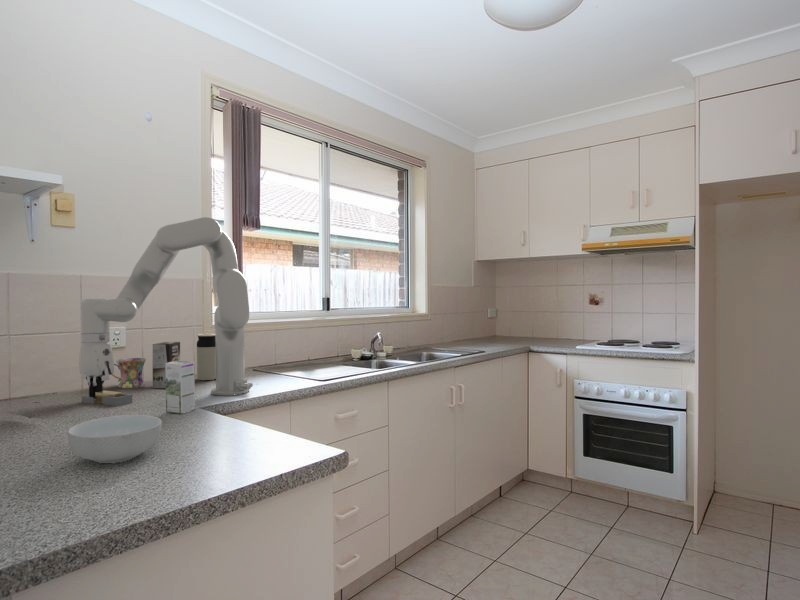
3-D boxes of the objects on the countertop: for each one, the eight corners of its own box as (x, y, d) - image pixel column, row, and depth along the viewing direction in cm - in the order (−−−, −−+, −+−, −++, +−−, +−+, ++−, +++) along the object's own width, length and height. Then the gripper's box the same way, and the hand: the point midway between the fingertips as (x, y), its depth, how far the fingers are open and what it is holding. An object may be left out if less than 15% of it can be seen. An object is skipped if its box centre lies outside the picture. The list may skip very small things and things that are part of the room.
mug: (147, 385, 182) (147, 357, 182) (144, 390, 173) (144, 360, 173) (111, 388, 178) (110, 358, 178) (105, 392, 169) (105, 362, 169)
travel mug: (198, 381, 191) (198, 335, 190) (195, 378, 197) (195, 334, 197) (219, 379, 195) (219, 334, 194) (216, 376, 201) (216, 333, 201)
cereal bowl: (59, 477, 92) (58, 439, 91) (77, 451, 107) (76, 418, 107) (160, 464, 98) (159, 429, 98) (163, 441, 114) (163, 411, 113)
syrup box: (195, 409, 144) (195, 360, 144) (180, 414, 139) (180, 363, 139) (180, 408, 146) (180, 359, 146) (164, 412, 141) (164, 362, 141)
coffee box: (169, 388, 177) (169, 343, 177) (151, 388, 177) (151, 343, 177) (181, 383, 186) (181, 341, 186) (164, 383, 186) (164, 341, 186)
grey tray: (158, 400, 157) (158, 388, 157) (85, 417, 135) (85, 404, 135) (126, 396, 163) (126, 385, 163) (50, 412, 141) (50, 399, 141)
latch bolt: (122, 402, 148) (122, 392, 148) (113, 404, 146) (113, 394, 146) (104, 400, 152) (104, 390, 152) (95, 402, 149) (95, 392, 149)
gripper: (123, 338, 151) (123, 397, 151) (91, 336, 157) (91, 394, 157) (100, 340, 144) (100, 402, 145) (67, 338, 150) (67, 398, 151)
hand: (95, 398), depth 151 cm, fingers closed
